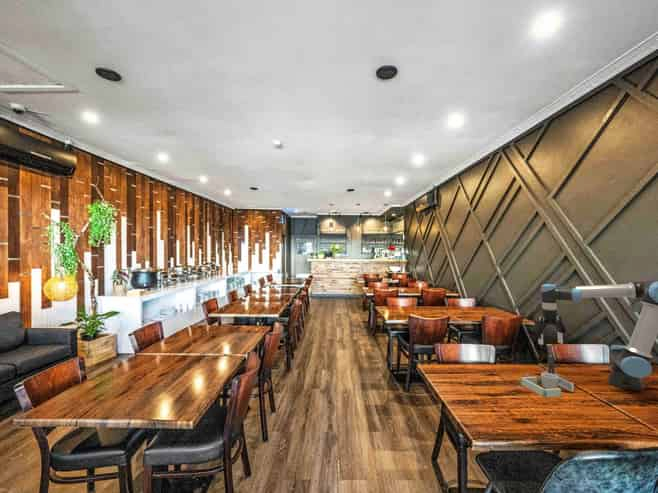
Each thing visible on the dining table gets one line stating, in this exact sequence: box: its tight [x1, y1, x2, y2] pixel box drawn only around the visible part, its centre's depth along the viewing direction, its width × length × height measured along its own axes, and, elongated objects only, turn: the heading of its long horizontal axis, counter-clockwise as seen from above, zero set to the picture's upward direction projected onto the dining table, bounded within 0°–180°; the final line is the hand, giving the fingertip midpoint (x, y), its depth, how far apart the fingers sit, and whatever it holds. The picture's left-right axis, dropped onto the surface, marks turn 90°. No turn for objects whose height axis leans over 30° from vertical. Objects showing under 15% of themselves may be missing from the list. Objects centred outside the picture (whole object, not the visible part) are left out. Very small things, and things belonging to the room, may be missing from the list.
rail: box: [522, 374, 564, 384], centre depth 183 cm, size 22×5×3 cm, turn 97°
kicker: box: [541, 354, 575, 392], centre depth 178 cm, size 6×20×15 cm, turn 7°
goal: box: [519, 376, 562, 399], centre depth 170 cm, size 10×17×4 cm, turn 7°
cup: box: [540, 372, 563, 389], centre depth 171 cm, size 11×8×8 cm
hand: (550, 343), depth 184 cm, fingers open, 13 cm apart
